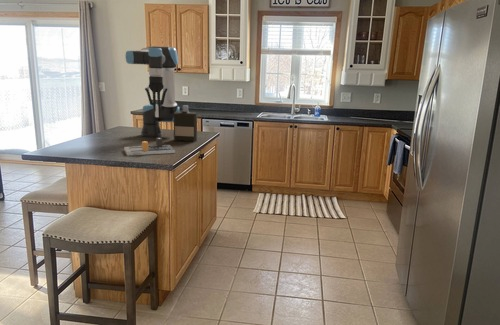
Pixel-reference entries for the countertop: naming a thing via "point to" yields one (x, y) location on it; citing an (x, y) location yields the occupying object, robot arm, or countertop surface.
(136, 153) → the panel
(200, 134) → the countertop surface
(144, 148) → the orange fader
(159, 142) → the black fader
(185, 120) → the bottle
